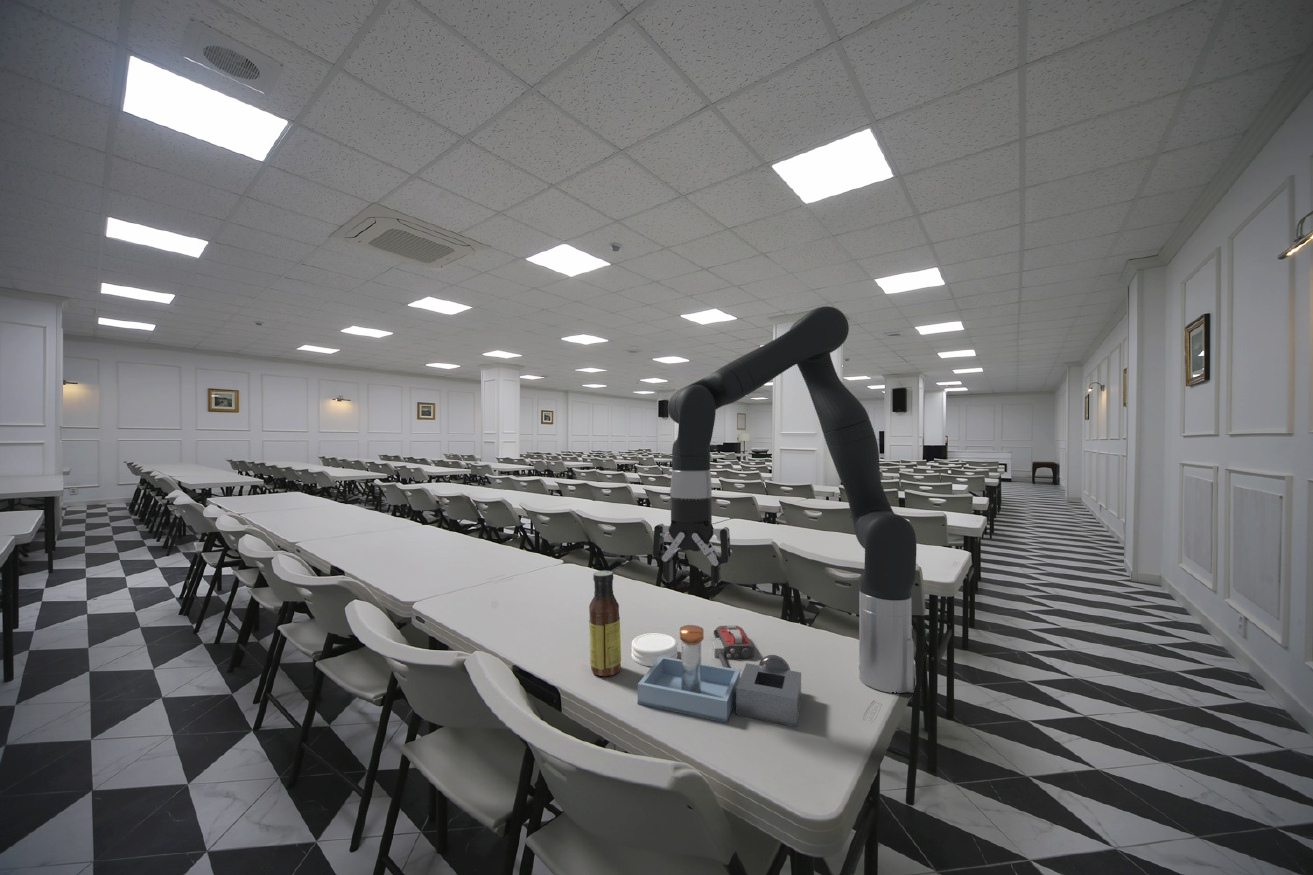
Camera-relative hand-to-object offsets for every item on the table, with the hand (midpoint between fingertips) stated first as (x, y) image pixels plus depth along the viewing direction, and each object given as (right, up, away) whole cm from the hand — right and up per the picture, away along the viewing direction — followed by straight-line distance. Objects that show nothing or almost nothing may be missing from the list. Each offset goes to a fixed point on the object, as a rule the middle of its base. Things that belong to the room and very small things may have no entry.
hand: (691, 583), depth 87 cm
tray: (0, -21, 0) cm, 21 cm away
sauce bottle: (-17, -21, +9) cm, 28 cm away
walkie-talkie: (+10, -22, +18) cm, 30 cm away
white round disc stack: (-7, -21, +16) cm, 28 cm away
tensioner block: (+14, -21, -2) cm, 25 cm away
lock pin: (0, -20, 0) cm, 20 cm away
